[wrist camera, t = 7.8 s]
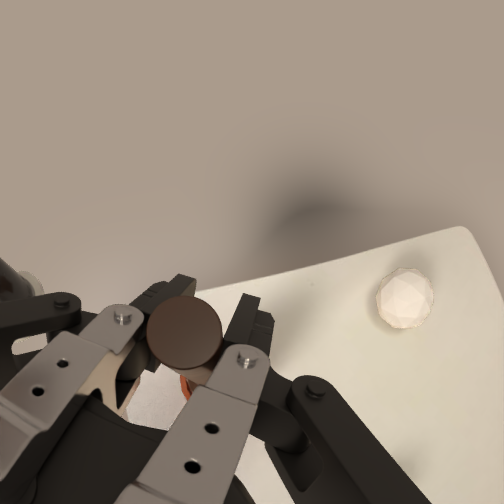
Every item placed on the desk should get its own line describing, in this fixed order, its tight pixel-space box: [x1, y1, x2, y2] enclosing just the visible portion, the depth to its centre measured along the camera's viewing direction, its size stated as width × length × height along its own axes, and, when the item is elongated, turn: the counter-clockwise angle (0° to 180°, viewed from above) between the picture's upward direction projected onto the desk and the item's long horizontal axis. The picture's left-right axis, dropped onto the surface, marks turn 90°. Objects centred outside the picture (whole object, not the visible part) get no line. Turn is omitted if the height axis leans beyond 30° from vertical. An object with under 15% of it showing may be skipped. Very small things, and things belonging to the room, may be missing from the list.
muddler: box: [146, 296, 223, 392], centre depth 14 cm, size 4×4×16 cm
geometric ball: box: [376, 268, 434, 329], centre depth 34 cm, size 8×8×8 cm
